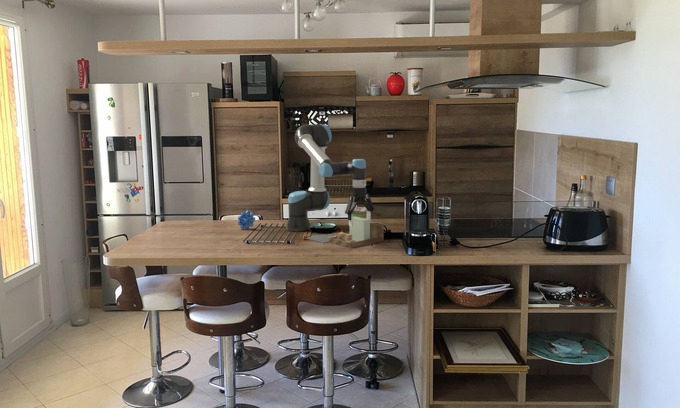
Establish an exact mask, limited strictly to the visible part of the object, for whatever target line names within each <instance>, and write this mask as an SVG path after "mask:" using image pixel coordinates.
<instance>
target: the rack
mask: <svg viewBox="0 0 680 408" xmlns="http://www.w3.org/2000/svg"><path fill="white" fill-rule="evenodd" d="M331 237H332V238H329V242H328V243H331V244H334V245H337V246H341V247H345V248H347V249H353V248H357V247H362V246H366V245H370V244H376V243H379V242H380V243H381V242H384V224H378V223H374V222H371V223H370V239H366V240H362V241H357V242H356V241H355V242H352V243H349V242H345V241H341V240H338V239H337V238H338V235H337V236H331Z"/></svg>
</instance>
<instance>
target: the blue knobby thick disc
mask: <svg viewBox="0 0 680 408" xmlns="http://www.w3.org/2000/svg"><path fill="white" fill-rule="evenodd" d="M254 215H255V214H254V212H251V211H250V210H249V209H248V210H246V211H242V212H241V213H240V215H238V216H237V219H238V220H237V225H238V226H240V229H245V230H248V229H250V227H253V226H254V223H255V221H256V217H254Z"/></svg>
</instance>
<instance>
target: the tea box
mask: <svg viewBox="0 0 680 408" xmlns="http://www.w3.org/2000/svg"><path fill="white" fill-rule="evenodd" d="M367 211H368V210H367V209H366V207H365V206H356V207H355V209H354V211H353V213H352V215H353V217H360V218H365V219H367Z"/></svg>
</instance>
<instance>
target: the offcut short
mask: <svg viewBox="0 0 680 408" xmlns="http://www.w3.org/2000/svg"><path fill="white" fill-rule="evenodd" d="M337 236H338V239H342V240H347V241H349V240H352V234H350V233H346V232H337Z"/></svg>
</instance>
